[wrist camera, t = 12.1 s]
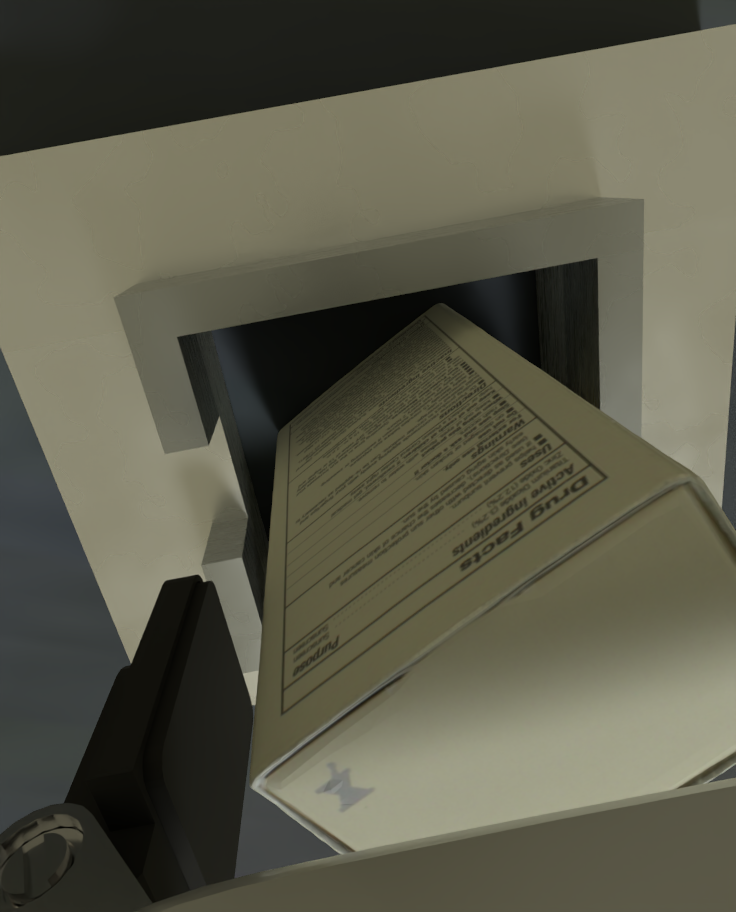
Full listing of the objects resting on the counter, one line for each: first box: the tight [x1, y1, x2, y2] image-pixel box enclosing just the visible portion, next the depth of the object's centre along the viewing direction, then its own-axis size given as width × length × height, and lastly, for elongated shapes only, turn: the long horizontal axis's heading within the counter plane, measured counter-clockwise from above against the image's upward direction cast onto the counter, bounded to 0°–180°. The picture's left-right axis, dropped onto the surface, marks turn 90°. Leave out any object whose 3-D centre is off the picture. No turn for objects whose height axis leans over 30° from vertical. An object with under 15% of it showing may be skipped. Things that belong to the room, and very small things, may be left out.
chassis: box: [0, 24, 736, 705], centre depth 17 cm, size 16×18×4 cm
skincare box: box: [250, 303, 736, 855], centre depth 13 cm, size 6×4×12 cm
